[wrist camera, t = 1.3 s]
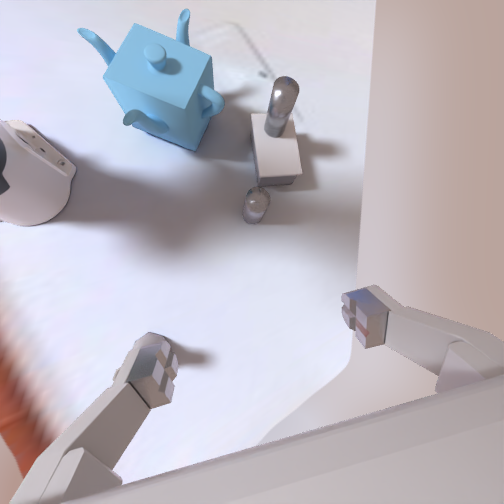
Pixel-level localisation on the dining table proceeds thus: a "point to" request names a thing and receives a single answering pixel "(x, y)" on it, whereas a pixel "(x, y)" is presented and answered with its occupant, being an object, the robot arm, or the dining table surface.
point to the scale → (275, 153)
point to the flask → (145, 343)
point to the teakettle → (161, 82)
